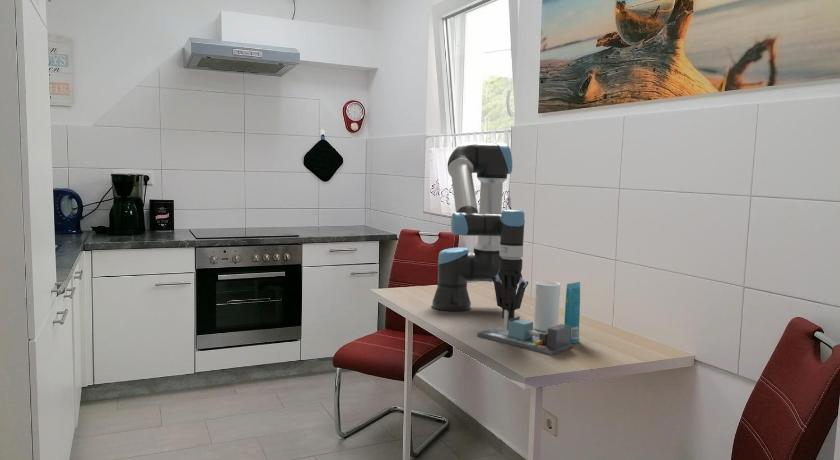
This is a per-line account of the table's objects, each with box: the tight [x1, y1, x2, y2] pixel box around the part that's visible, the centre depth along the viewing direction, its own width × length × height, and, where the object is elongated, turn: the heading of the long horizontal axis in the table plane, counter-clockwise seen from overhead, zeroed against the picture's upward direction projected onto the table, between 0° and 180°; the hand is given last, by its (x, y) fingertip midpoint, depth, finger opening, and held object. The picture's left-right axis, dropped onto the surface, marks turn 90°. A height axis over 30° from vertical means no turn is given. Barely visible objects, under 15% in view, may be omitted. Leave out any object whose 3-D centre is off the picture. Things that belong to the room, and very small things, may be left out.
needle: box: [535, 331, 548, 345], centre depth 191 cm, size 2×7×3 cm, turn 137°
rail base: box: [477, 323, 573, 356], centre depth 198 cm, size 28×12×7 cm, turn 47°
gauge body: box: [508, 315, 543, 340], centre depth 197 cm, size 11×5×6 cm, turn 47°
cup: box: [533, 280, 561, 332], centre depth 214 cm, size 8×8×16 cm
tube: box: [563, 281, 581, 344], centre depth 199 cm, size 7×5×19 cm, turn 140°
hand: (507, 329), depth 202 cm, fingers closed
